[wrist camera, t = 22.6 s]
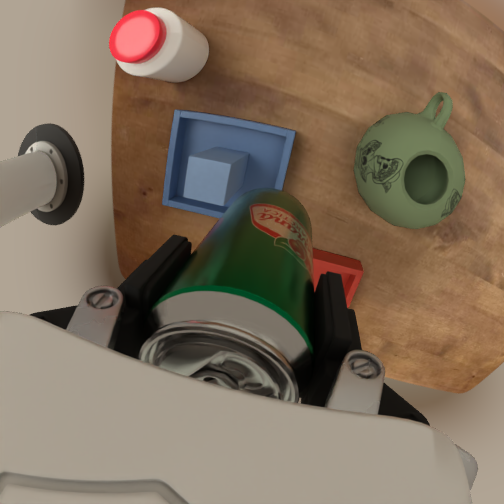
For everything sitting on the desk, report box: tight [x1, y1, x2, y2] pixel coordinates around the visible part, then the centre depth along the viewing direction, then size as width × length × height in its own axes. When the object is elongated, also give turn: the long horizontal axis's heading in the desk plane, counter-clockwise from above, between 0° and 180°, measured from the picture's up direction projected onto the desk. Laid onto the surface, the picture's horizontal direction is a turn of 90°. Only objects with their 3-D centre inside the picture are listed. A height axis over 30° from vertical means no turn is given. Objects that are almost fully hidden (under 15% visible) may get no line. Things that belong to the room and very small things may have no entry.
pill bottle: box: [109, 8, 209, 83], centre depth 25 cm, size 8×8×11 cm
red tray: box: [313, 248, 364, 308], centre depth 39 cm, size 14×12×3 cm
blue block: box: [183, 147, 249, 206], centre depth 30 cm, size 4×4×9 cm
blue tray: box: [162, 110, 296, 218], centre depth 34 cm, size 14×12×3 cm
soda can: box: [138, 188, 315, 403], centre depth 12 cm, size 5×5×12 cm
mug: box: [354, 92, 465, 229], centre depth 27 cm, size 16×13×9 cm
